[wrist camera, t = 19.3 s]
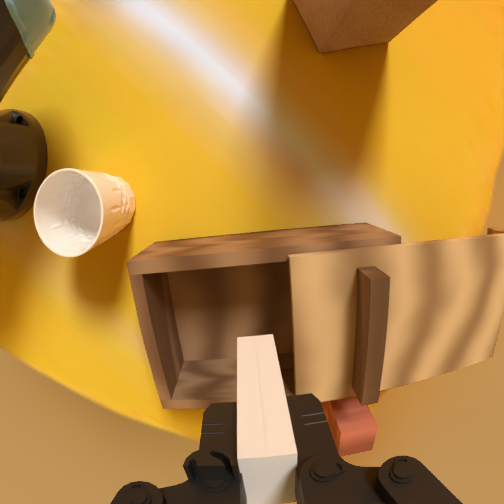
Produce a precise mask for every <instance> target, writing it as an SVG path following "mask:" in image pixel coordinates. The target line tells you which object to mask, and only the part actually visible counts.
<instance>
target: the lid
mask: <svg viewBox="0 0 504 504" xmlns="http://www.w3.org/2000/svg"><path fill="white" fill-rule="evenodd" d="M288 258H289V274H290V290H291V308H292V328H293V351H294V378H295V395H301V394H308V393H312V394H313V395H314V396H315V397H317V398H318V399H319V400H320V401H321V402H324V401H330V400H336V399H342V398H348V397H353V396H357V398H358V400H359V402H360V404H361V406H364V405H369V404H373V403H378V398H379V392H380V391H382V390H386V389H390V388H395V387H399V386H402V385H406V384H410V383H414V382H418V381H421V380H425V379H428V378H432V377H435V376H438V375H442V374H445V373H448V372H451V371H454V370H457V369H460V368H463V367H466V366H469V365H472V364H475V363H477V362H480V361H483V360H486V359H488V358H491V357H493V353H494V350H495V345H496V342H497V337H498V333H499V329H500V324H501V319H502V314H503V309H504V230H501V229H498V228H494V227H491V228H488V233H487V235H482V236H472V237H463V238H453V239H443V240H433V241H424V242H414V243H404V244H394V245H384V246H374V247H363V248H353V249H343V250H333V251H322V252H312V253H301V254H291V255H288Z"/></svg>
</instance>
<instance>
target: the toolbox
mask: <svg viewBox="0 0 504 504" xmlns="http://www.w3.org/2000/svg"><path fill="white" fill-rule="evenodd" d="M394 244H401V236H399V235H396V234H394V233H391V232H389V231H386V230H384V229H381V228H378V227H376V226H373V225H370V224H368V223H356V224H343V225H331V226H319V227H307V228H295V229H284V230H273V231H262V232H251V233H240V234H230V235H220V236H209V237H199V238H190V239H180V240H170V241H161V242H154V243H153V244H151V245H150V246H149V247H147V248H146V249H144V250H143V251H141V252H140V253H139V254H137V255H136V256H134V257H133V258H131V259H130V260H129V261H127V266H128V271H129V277H130V282H131V287H132V292H133V297H134V301H135V306H136V311H137V315H138V319H139V324H140V328H141V332H142V336H143V340H144V344H145V348H146V352H147V355H148V359H149V363H150V366H151V370H152V374H153V377H154V380H155V384H156V387H157V391H158V394H159V397H160V400H161V403H162V406H163V408H166V409H201V408H208V406H209V405H210V403H223V402H237V337H247V336H259V335H269V334H273V337H274V342H275V347H276V351H277V356H278V361H279V366H280V371H281V376H282V380H283V385H284V390H285V395H286V396H293V395H295V378H294V351H293V328H292V308H291V290H290V274H289V258H288V255H291V254H301V253H312V252H322V251H333V250H343V249H353V248H363V247H374V246H384V245H394Z"/></svg>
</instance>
